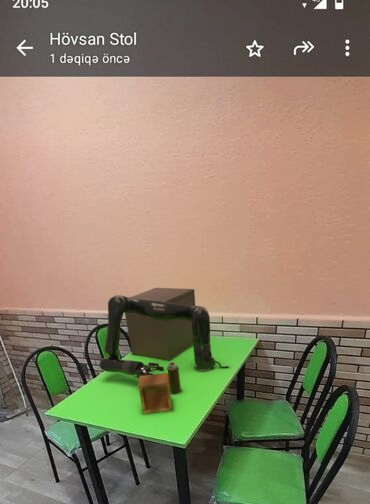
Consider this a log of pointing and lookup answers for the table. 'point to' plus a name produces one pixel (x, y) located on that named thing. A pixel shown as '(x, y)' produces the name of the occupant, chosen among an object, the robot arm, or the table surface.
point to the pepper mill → (174, 378)
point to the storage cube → (161, 326)
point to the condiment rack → (155, 393)
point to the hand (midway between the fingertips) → (158, 372)
